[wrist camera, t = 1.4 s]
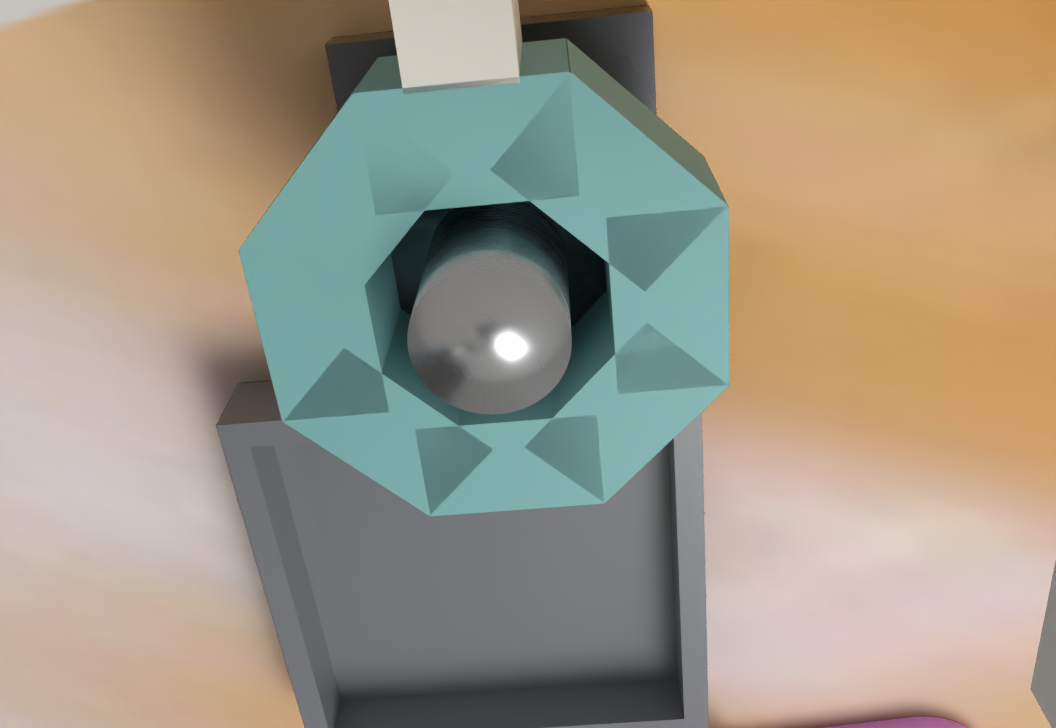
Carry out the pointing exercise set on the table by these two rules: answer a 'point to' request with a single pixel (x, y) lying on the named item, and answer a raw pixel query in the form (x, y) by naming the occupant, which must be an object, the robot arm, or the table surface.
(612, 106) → the ring
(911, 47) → the table surface
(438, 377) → the rounded cylinder on base
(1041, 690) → the robot arm
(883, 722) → the bracket
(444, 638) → the tray
